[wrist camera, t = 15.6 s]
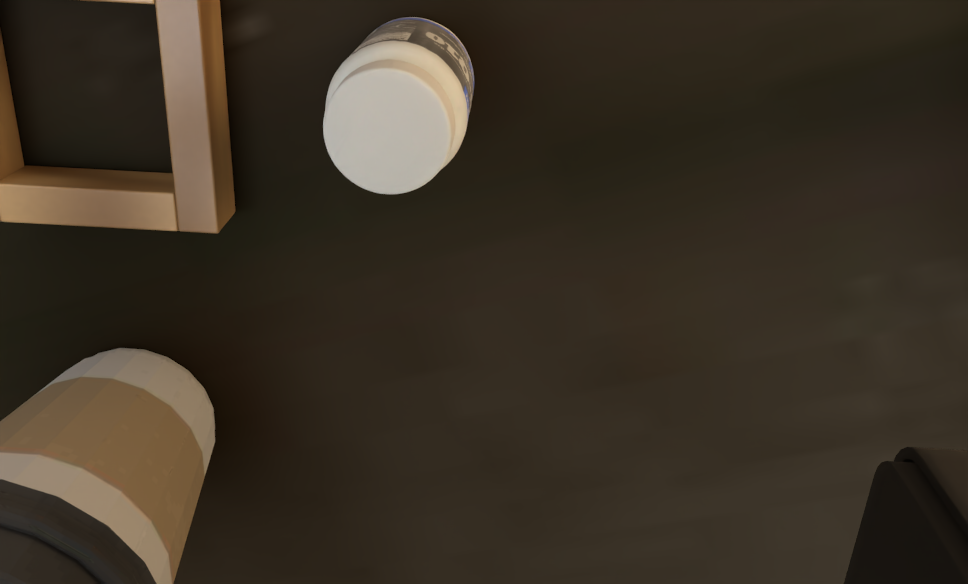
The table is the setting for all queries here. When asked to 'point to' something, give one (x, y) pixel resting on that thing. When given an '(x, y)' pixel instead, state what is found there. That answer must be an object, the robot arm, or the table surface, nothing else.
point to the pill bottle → (399, 106)
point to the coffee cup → (104, 472)
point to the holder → (132, 194)
